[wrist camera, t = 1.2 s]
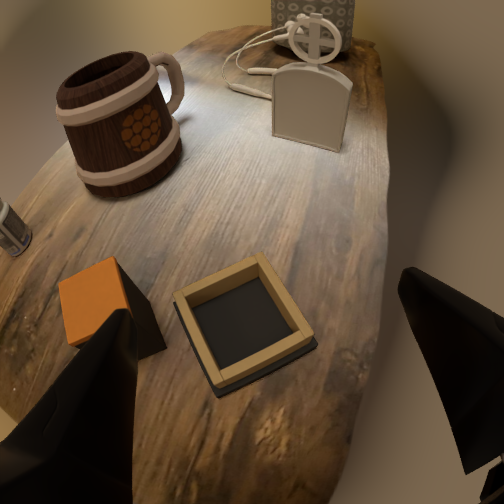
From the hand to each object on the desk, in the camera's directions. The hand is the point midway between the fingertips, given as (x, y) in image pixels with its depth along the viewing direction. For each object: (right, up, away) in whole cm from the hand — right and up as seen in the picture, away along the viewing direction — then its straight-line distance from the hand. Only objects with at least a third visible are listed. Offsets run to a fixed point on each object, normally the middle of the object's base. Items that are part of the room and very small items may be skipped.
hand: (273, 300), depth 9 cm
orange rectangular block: (-11, -6, +16) cm, 20 cm away
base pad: (-1, -5, +16) cm, 17 cm away
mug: (-16, +15, +30) cm, 37 cm away
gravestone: (+7, +17, +29) cm, 35 cm away
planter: (+14, +50, +50) cm, 72 cm away
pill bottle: (-32, +3, +22) cm, 39 cm away
